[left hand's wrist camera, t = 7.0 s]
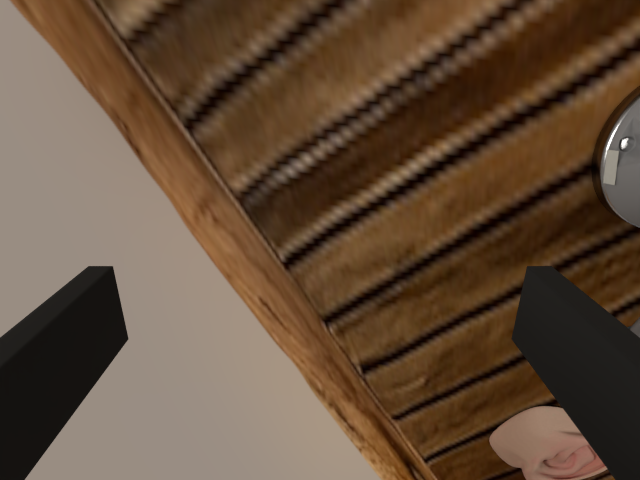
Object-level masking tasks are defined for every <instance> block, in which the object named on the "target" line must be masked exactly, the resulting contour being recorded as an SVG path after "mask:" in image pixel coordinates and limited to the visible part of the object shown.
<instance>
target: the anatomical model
mask: <svg viewBox="0 0 640 480" xmlns="http://www.w3.org/2000/svg"><path fill="white" fill-rule="evenodd" d="M489 442H490V445H491V446H492V448H493V449H494V451H495V452H496V453H497V454H498V456H499V457H500V458H501V459H502V460H504V461H505V462H506V463H507V464H509V465H511V466H513V467H517V468H522V471H523V474H524V477H525V478H526V479H527V480H581V479H585V478H588V477H591V476H593V475H596V474H598V473H601V472H603V471H605V470H607V468H606V466H605V465H604V463H603V462H602V461H601V459H600V458H599V457H598V455H597V454H596V453H595V451H594V450H593V449H592V447H591V446H590V445H589V443H588V442H587V440H586V439H585V438H584V436H583V435H582V434H581V432H580V431H579V430H578V428H577V427H576V426H575V424H574V423H573V421H572V420H571V419H570V417H569V416H568V415H567V413H566V412H565V411H564V409H563V408H559V407H551V406H539V407H533V408H530V409H527V410H525V411H523V412H521V413H518V414H517V415H515V416H513V417H512V418H510V419H509V420H507V421H506V422H505V423H503V424H502V425H501V426H499V427H498V428H497V429H496V430H495V431H494V432H493V433H492V434H491V436H490V439H489Z"/></svg>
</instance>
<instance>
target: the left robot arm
mask: <svg viewBox="0 0 640 480" xmlns="http://www.w3.org/2000/svg"><path fill="white" fill-rule="evenodd" d="M592 180H593V185H594V189H595V192H596V194H597V196H598V198H599V200H600V202H601V203H602V204H603V206H604V207H605V208H606V209H607V210H608V211H609V212H610V213H612V214H613V215H614V216H616V217H618V218H619V219H622V220H624V221H626V222H628V223H630V224H632V225H635V226H637V227H640V86H639V87H637V88H636V89H635V90H634V91H633V92H631V93H630V94H629V95H628V96H627V97H626V98H625V99H624V100H623V101H622V102H621V103H620V104H619V105H618V106H617V108H616V109H615V110H614V112H613V113H612V114H611V116H610V117H609V119H608V120H607V122H606V123H605V125H604V127H603V129H602V131H601V133H600V135H599V137H598V140H597V143H596V146H595V149H594V153H593V159H592ZM127 340H128V335H127V330H126V326H125V321H124V316H123V312H122V307H121V302H120V298H119V293H118V288H117V284H116V279H115V274H114V270H113V266H88V267H87V268H86V269H85V270H83V271H82V272H81V273H80V274H78V275H77V276H76V277H75V278H73V279H72V280H71V281H70V282H69V283H67V284H66V285H65V286H64V287H62V288H61V289H60V290H59V291H57V292H56V293H55V294H54V295H52V296H51V297H50V298H49V299H48V300H46V301H45V302H44V303H43V304H41V305H40V306H39V307H38V308H36V309H35V310H34V311H33V312H31V313H30V314H29V315H28V316H26V317H25V318H24V319H23V320H22V321H20V322H19V323H18V324H17V325H15V326H14V327H13V328H12V329H10V330H9V331H8V332H7V333H5V334H4V335H3V336H2V337H0V480H25V478H26V477H27V476H28V474H29V473H30V472H31V470H32V469H33V468H34V466H35V465H36V463H37V462H38V461H39V459H40V458H41V457H42V455H43V454H44V453H45V451H46V450H47V449H48V447H49V446H50V444H51V443H52V442H53V440H54V439H55V438H56V436H57V435H58V434H59V432H60V431H61V430H62V428H63V427H64V426H65V424H66V423H67V421H68V420H69V419H70V417H71V416H72V415H73V413H74V412H75V411H76V409H77V408H78V407H79V405H80V404H81V402H82V401H83V400H84V398H85V397H86V396H87V394H88V393H89V392H90V390H91V389H92V388H93V386H94V385H95V384H96V382H97V381H98V379H99V378H100V377H101V375H102V374H103V373H104V371H105V370H106V369H107V367H108V366H109V365H110V363H111V362H112V361H113V359H114V358H115V356H116V355H117V354H118V352H119V351H120V350H121V348H122V347H123V346H124V344H125V343H126V342H127ZM512 340H513V342H514V343H515V344H516V346H517V347H518V348H519V350H520V351H521V352H522V354H523V355H524V356H525V358H526V359H527V361H528V362H529V363H530V365H531V366H532V367H533V369H534V370H535V371H536V373H537V374H538V375H539V377H540V378H541V379H542V381H543V382H544V384H545V385H546V386H547V388H548V389H549V390H550V392H551V393H552V394H553V396H554V397H555V398H556V400H557V401H558V403H559V404H560V405H561V407H562V408H563V409H564V411H565V412H566V413H567V415H568V416H569V417H570V419H571V420H572V421H573V423H574V424H575V426H576V427H577V428H578V430H579V431H580V432H581V434H582V435H583V436H584V438H585V439H586V440H587V442H588V443H589V445H590V446H591V447H592V449H593V450H594V451H595V453H596V454H597V455H598V457H599V458H600V459H601V461H602V462H603V463H604V465H605V466H606V468H607V469H608V470H609V472H610V473H611V474H612V476H613V477H614V478H615V480H640V317H639V318H638V320H637V321H636V322H635V323H634V324H633V326H632V327H628V328H627V327H626V326H625V325H623V324H622V323H621V322H620V321H618V320H617V319H616V318H615V317H614V316H612V315H611V314H610V313H609V312H607V311H606V310H605V309H604V308H602V307H601V306H600V305H599V304H597V303H596V302H595V301H594V300H592V299H591V298H590V297H589V296H588V295H586V294H585V293H584V292H583V291H581V290H580V289H579V288H578V287H576V286H575V285H574V284H573V283H571V282H570V281H569V280H568V279H567V278H565V277H564V276H563V275H562V274H560V273H559V272H558V271H557V270H555V269H554V268H553V267H552V266H527V270H526V274H525V279H524V284H523V288H522V293H521V298H520V302H519V307H518V312H517V316H516V321H515V326H514V330H513V335H512Z"/></svg>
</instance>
